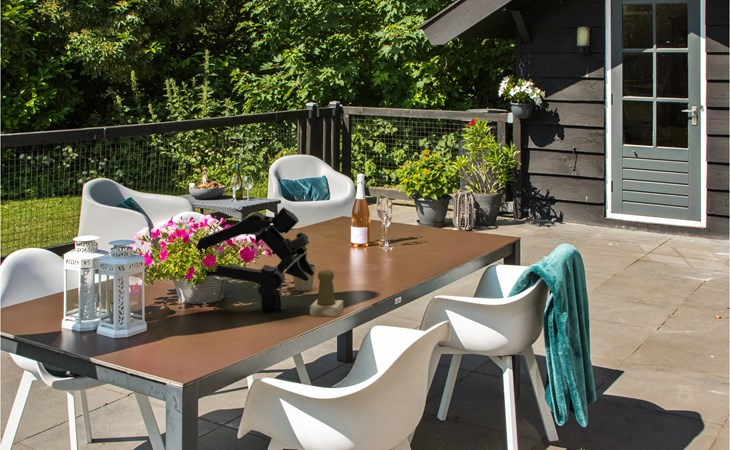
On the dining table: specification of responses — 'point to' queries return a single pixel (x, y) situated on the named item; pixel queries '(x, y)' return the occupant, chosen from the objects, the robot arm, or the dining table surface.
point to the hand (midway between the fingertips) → (310, 277)
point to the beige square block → (326, 309)
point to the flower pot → (302, 284)
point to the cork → (326, 288)
